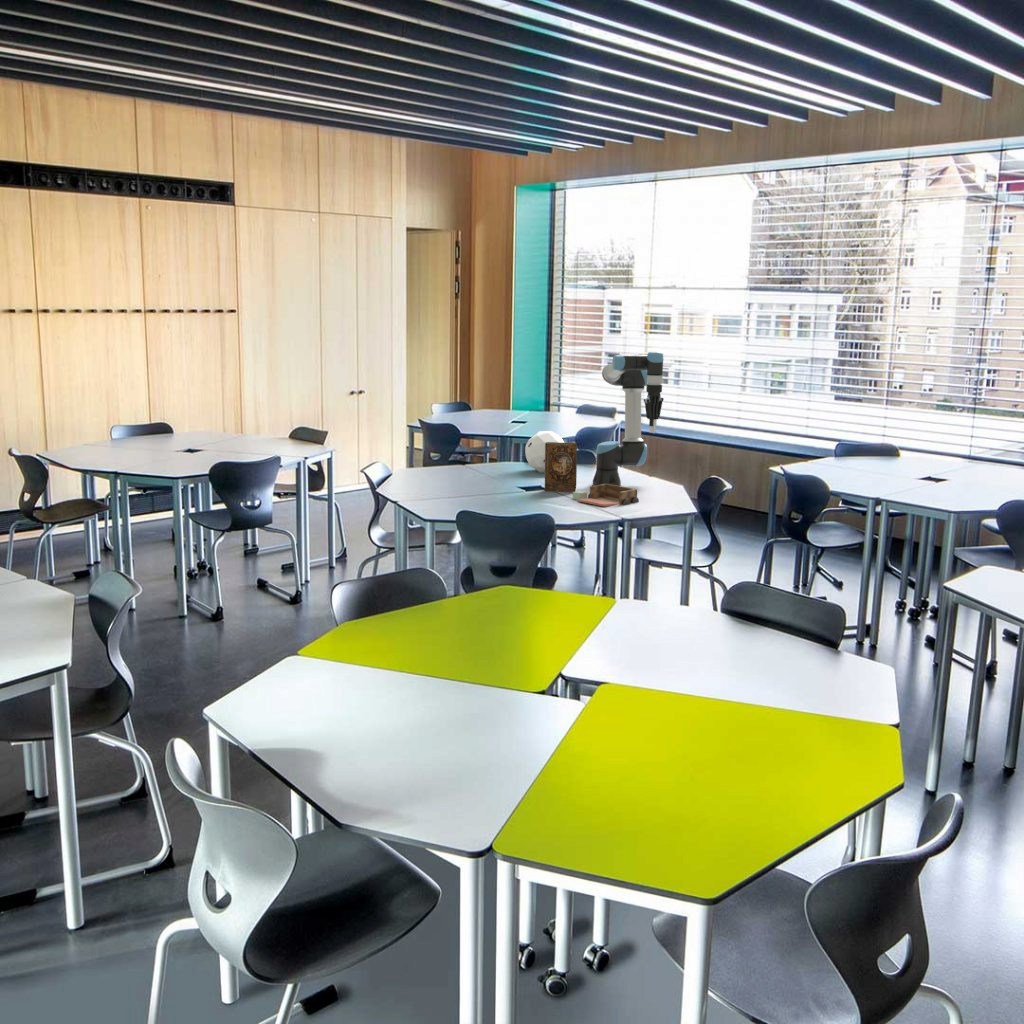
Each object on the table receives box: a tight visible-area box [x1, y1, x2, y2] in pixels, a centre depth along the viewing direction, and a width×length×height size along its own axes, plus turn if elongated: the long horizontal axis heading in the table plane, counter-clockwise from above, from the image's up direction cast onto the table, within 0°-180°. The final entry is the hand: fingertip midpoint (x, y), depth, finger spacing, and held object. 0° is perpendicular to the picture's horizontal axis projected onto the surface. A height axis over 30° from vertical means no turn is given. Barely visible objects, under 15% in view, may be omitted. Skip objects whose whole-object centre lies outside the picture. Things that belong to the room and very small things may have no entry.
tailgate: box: [576, 497, 619, 507], centre depth 478 cm, size 1×17×10 cm
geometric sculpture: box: [524, 430, 565, 473], centre depth 568 cm, size 25×25×25 cm
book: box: [544, 442, 578, 493], centre depth 512 cm, size 16×6×25 cm, turn 84°
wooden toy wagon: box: [587, 484, 640, 506], centre depth 485 cm, size 12×23×8 cm, turn 44°
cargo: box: [572, 490, 588, 501], centre depth 488 cm, size 5×5×5 cm
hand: (652, 432), depth 483 cm, fingers closed
